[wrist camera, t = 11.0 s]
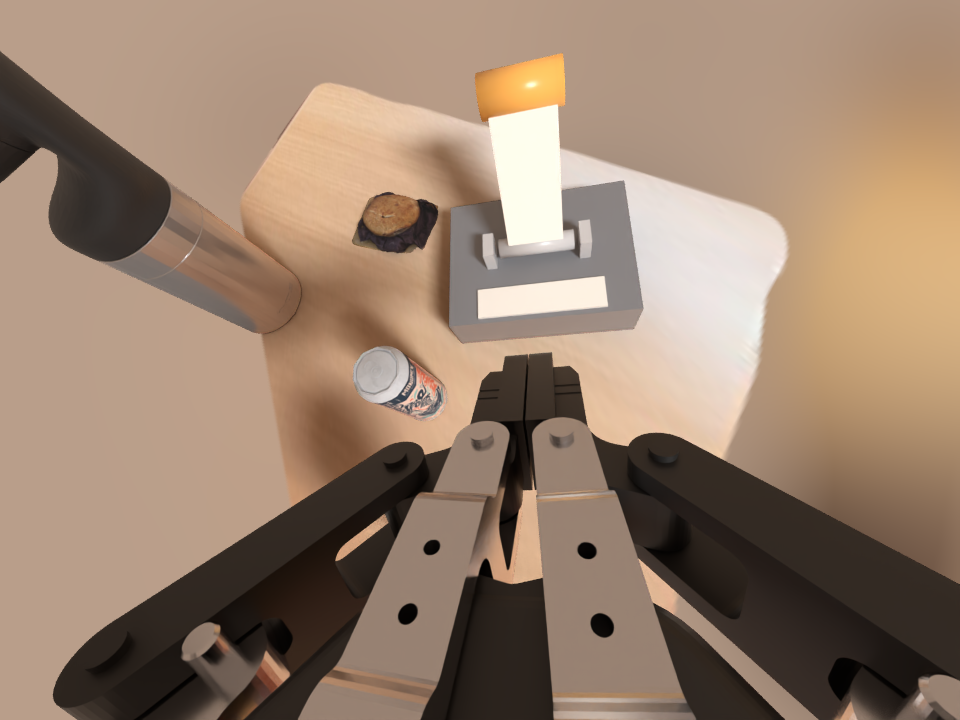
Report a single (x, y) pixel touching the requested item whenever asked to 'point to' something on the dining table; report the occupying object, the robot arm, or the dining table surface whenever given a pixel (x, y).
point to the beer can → (398, 384)
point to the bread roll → (395, 223)
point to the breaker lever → (527, 152)
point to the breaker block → (545, 272)
